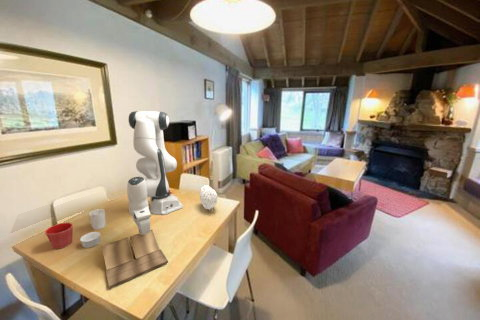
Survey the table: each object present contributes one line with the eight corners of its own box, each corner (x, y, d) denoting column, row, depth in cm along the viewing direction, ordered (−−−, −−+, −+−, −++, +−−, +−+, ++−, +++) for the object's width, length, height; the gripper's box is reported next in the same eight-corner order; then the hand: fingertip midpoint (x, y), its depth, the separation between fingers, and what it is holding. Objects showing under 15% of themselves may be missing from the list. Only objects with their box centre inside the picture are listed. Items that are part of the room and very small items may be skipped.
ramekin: (81, 242, 112) (79, 235, 111) (100, 236, 118) (99, 229, 117) (81, 251, 106) (80, 243, 105) (102, 244, 111) (101, 237, 110)
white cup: (99, 231, 122) (96, 216, 120) (87, 229, 124) (85, 214, 121) (109, 224, 130) (107, 209, 127) (99, 222, 131) (96, 208, 129)
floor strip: (160, 250, 107) (160, 248, 107) (168, 263, 99) (167, 260, 99) (105, 272, 92) (105, 269, 92) (109, 289, 84) (109, 286, 84)
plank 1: (127, 238, 106) (127, 237, 105) (133, 260, 100) (133, 259, 99) (101, 247, 99) (101, 245, 98) (106, 271, 93) (106, 270, 92)
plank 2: (151, 230, 113) (152, 229, 112) (158, 250, 107) (159, 249, 106) (129, 238, 106) (129, 236, 106) (135, 260, 100) (136, 258, 99)
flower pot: (59, 238, 115) (55, 222, 112) (80, 237, 116) (77, 222, 113) (43, 251, 105) (39, 234, 102) (66, 250, 106) (62, 233, 103)
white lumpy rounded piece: (220, 212, 147) (220, 190, 143) (206, 216, 142) (206, 193, 137) (210, 202, 162) (210, 182, 158) (197, 206, 156) (196, 184, 152)
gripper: (127, 203, 111) (130, 226, 114) (137, 219, 95) (140, 245, 99) (140, 200, 115) (142, 222, 118) (151, 215, 99) (154, 240, 103)
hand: (141, 233), depth 108 cm, fingers closed
